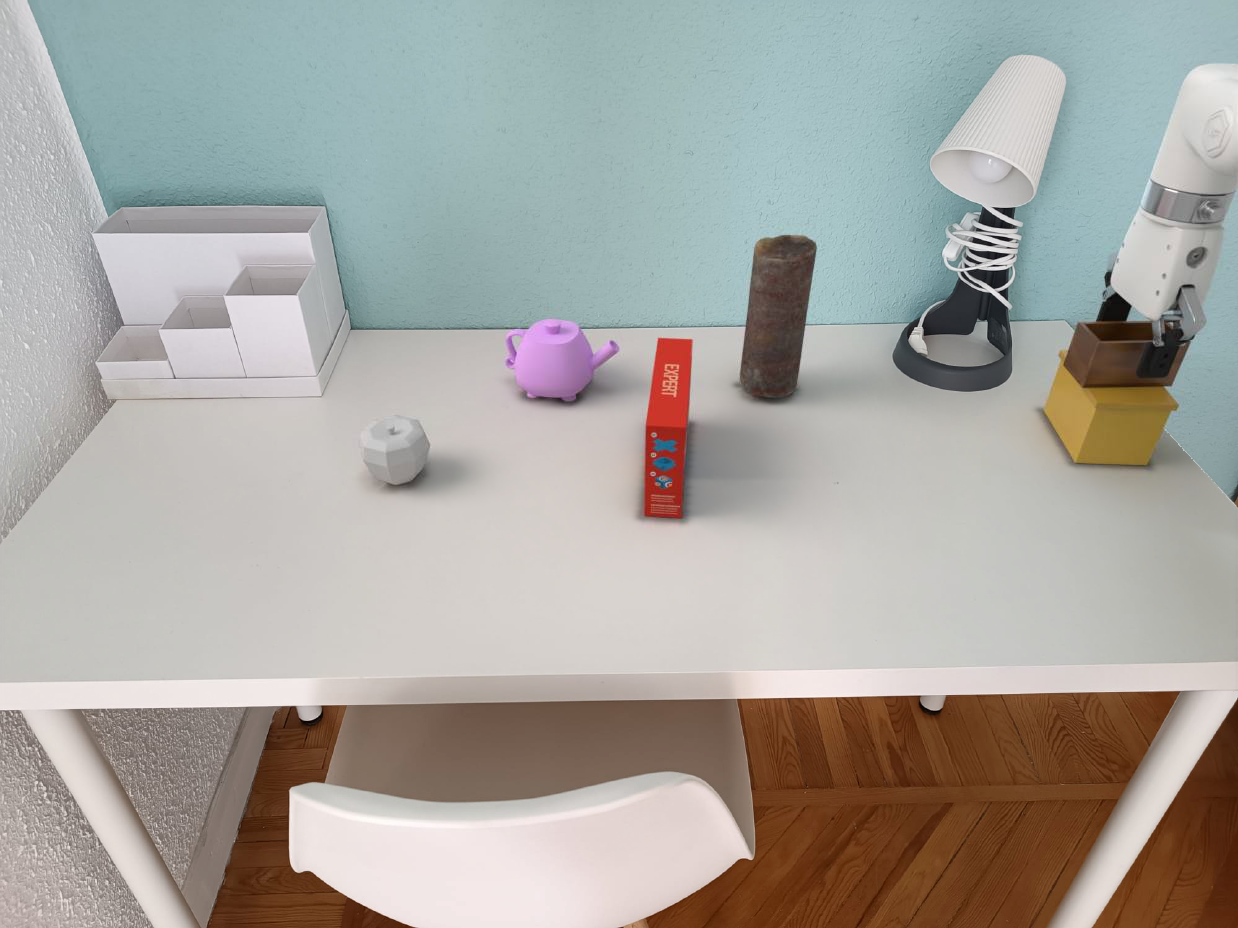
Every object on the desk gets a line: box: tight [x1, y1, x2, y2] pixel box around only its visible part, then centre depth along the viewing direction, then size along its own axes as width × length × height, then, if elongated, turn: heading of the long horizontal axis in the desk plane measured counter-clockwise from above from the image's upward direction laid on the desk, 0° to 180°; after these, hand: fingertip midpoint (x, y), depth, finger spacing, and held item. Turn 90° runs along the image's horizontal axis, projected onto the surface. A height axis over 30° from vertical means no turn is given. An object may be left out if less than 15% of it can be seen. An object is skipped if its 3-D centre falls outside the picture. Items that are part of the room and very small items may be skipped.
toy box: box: [643, 337, 694, 519], centre depth 96 cm, size 18×4×12 cm, turn 174°
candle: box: [739, 234, 818, 399], centre depth 106 cm, size 8×7×20 cm
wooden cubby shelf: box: [1063, 320, 1192, 388], centre depth 97 cm, size 10×5×6 cm, turn 91°
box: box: [1043, 349, 1180, 466], centre depth 101 cm, size 12×9×8 cm
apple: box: [357, 414, 431, 486], centre depth 96 cm, size 8×8×7 cm
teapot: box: [504, 318, 621, 402], centre depth 110 cm, size 10×15×9 cm
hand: (1127, 354), depth 96 cm, fingers open, 9 cm apart
